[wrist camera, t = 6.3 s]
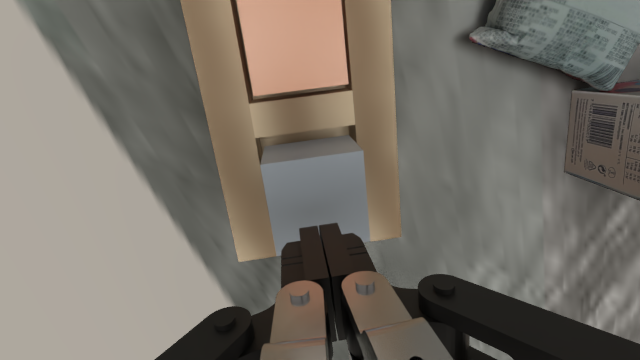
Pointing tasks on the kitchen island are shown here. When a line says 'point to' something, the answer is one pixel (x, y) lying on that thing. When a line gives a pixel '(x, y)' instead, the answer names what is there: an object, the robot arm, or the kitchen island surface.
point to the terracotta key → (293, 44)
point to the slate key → (315, 187)
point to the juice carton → (606, 137)
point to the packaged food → (567, 35)
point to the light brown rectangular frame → (296, 115)
